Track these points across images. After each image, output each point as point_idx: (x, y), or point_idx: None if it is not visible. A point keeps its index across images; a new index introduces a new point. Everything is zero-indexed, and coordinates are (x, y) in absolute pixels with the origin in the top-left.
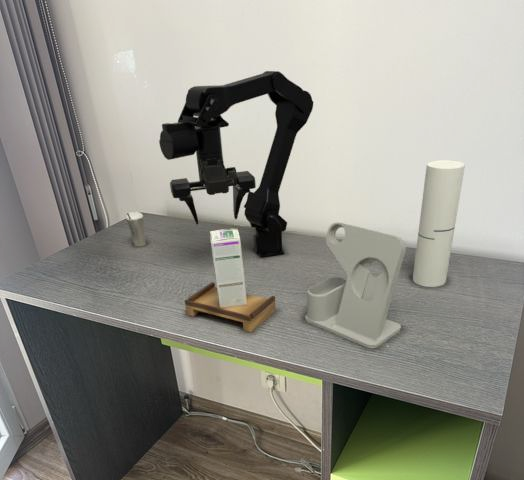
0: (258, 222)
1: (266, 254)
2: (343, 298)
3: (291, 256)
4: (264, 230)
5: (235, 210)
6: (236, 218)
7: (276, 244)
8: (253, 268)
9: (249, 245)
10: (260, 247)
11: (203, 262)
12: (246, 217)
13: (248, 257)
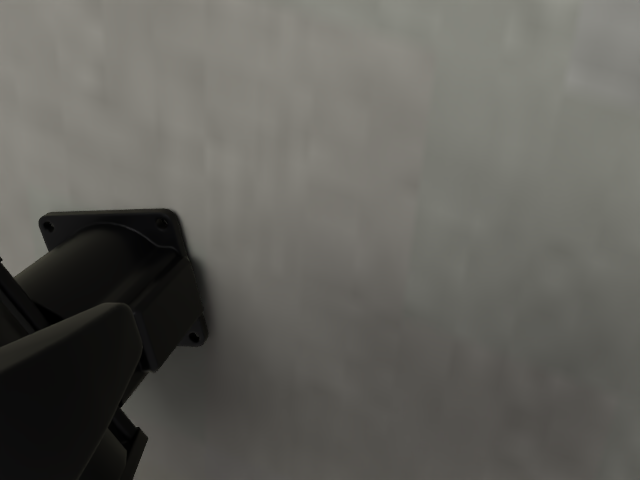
0: (2, 335)
1: (135, 221)
2: None
3: (7, 171)
4: (41, 325)
5: (23, 365)
6: (106, 305)
7: (45, 255)
8: (221, 55)
9: (240, 398)
10: (147, 266)
11: (561, 271)
12: (113, 472)
13: (250, 243)
